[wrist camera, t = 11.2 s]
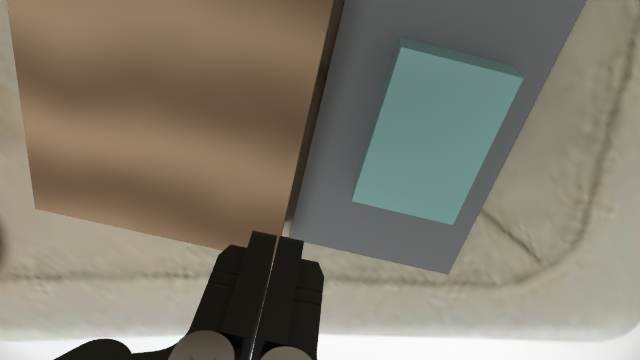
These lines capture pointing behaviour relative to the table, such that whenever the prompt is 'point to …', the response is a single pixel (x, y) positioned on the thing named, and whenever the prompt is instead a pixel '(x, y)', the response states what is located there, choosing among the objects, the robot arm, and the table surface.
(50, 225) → the table surface
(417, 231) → the mat
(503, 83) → the teal rectangular block
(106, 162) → the wooden block
